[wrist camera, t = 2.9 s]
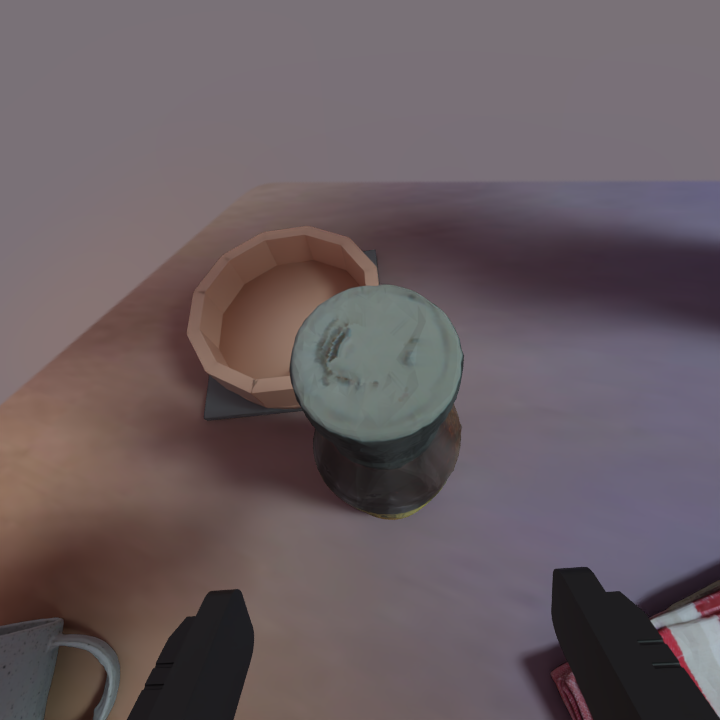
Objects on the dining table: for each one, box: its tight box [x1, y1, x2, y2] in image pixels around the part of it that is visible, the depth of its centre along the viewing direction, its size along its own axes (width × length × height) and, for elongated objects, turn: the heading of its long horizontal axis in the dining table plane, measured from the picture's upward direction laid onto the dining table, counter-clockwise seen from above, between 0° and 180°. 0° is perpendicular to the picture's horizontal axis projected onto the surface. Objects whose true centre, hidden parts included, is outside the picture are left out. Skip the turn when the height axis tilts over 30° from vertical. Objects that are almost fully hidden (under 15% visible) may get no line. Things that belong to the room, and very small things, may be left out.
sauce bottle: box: [289, 284, 464, 520], centre depth 17 cm, size 6×6×20 cm
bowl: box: [187, 226, 379, 409], centre depth 30 cm, size 15×15×4 cm
